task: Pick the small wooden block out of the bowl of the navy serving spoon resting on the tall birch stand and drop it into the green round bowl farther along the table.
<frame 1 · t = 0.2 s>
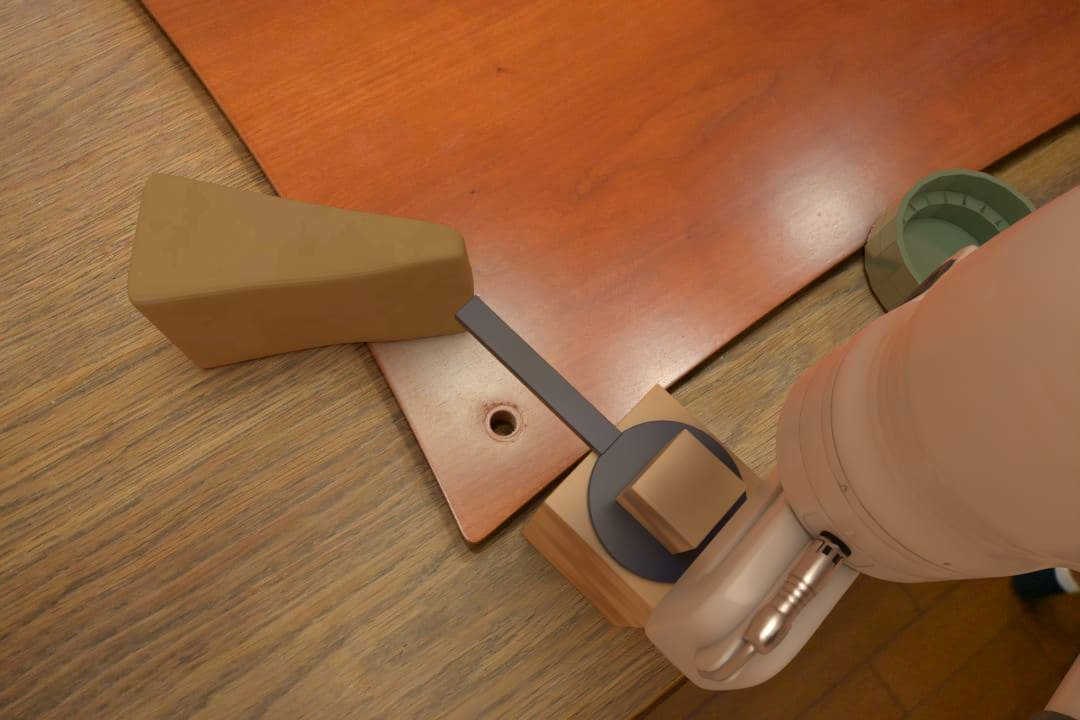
hand: (767, 504, 40), 23 cm above the table, tool pointing down, fingers open, 8 cm apart
green round bowl: (935, 271, 72), on the table
tan wooden wedge: (340, 319, 65), on the table
wooden block: (668, 499, 44), point 19 cm above the table, touching spoon stand
spoon stand: (609, 531, 62), on the table
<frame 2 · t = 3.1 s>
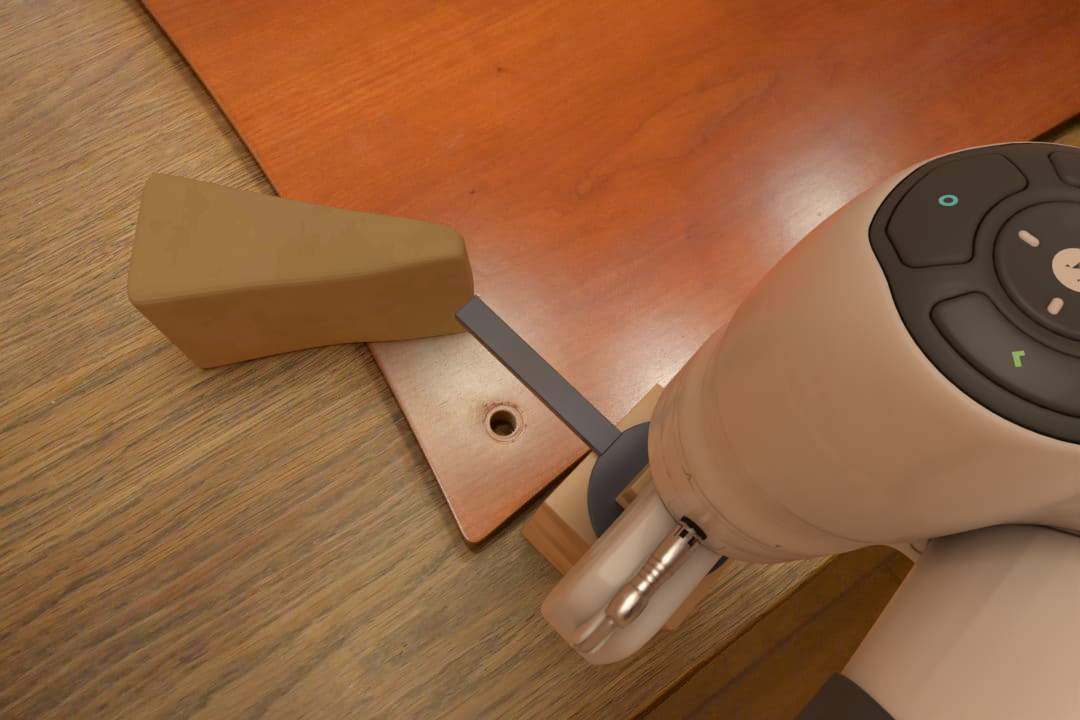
hand: (675, 495, 43), 20 cm above the table, tool pointing down, fingers closed on wooden block, 4 cm apart
wooden block: (668, 499, 44), point 19 cm above the table, touching gripper, spoon stand
everything else where it was.
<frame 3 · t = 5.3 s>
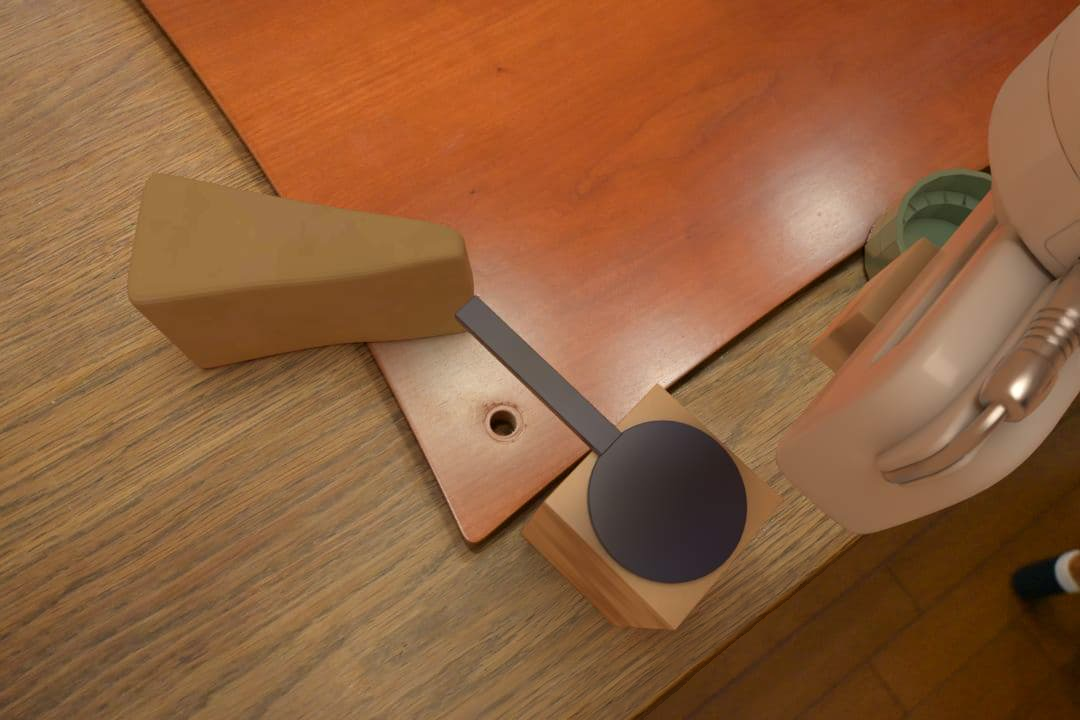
hand: (897, 339, 31), 34 cm above the table, tool pointing down, fingers closed on wooden block, 4 cm apart
wooden block: (878, 350, 33), point 33 cm above the table, touching gripper
everything else where it was.
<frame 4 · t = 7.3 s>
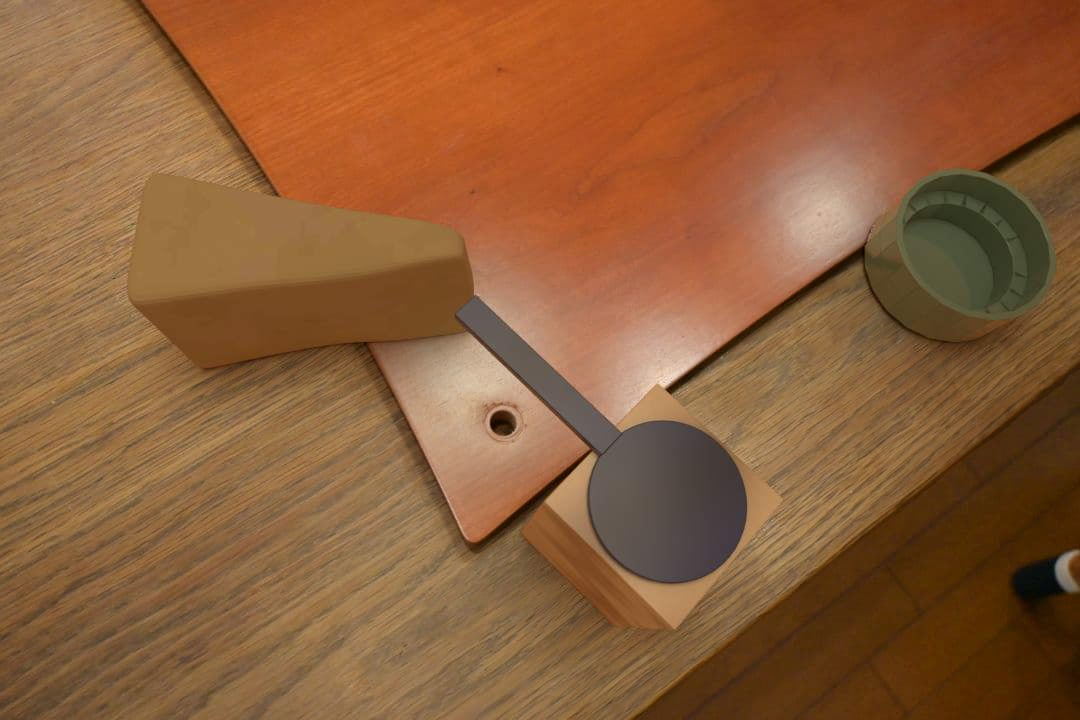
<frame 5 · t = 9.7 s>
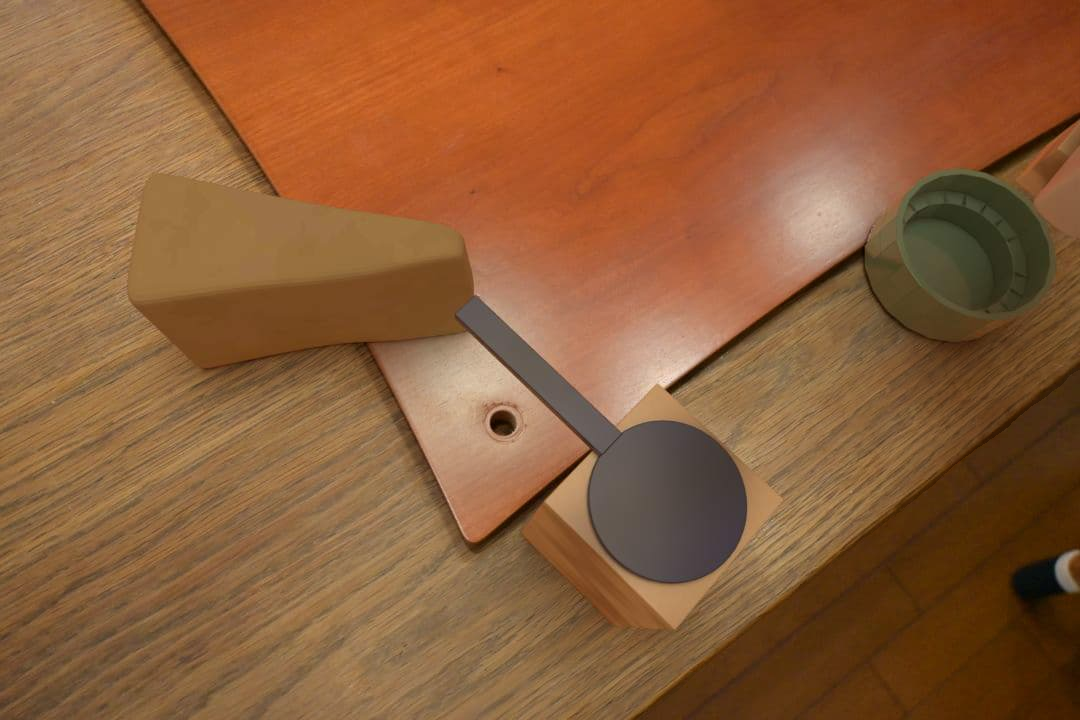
hand: (1068, 174, 56), 17 cm above the table, tool pointing down, fingers closed on wooden block, 4 cm apart
wooden block: (1053, 183, 58), point 15 cm above the table, touching gripper
everything else where it was.
when the fingers open (9 cm above the table, at t = 11.8 s): wooden block drops 7 cm, resting on green round bowl.
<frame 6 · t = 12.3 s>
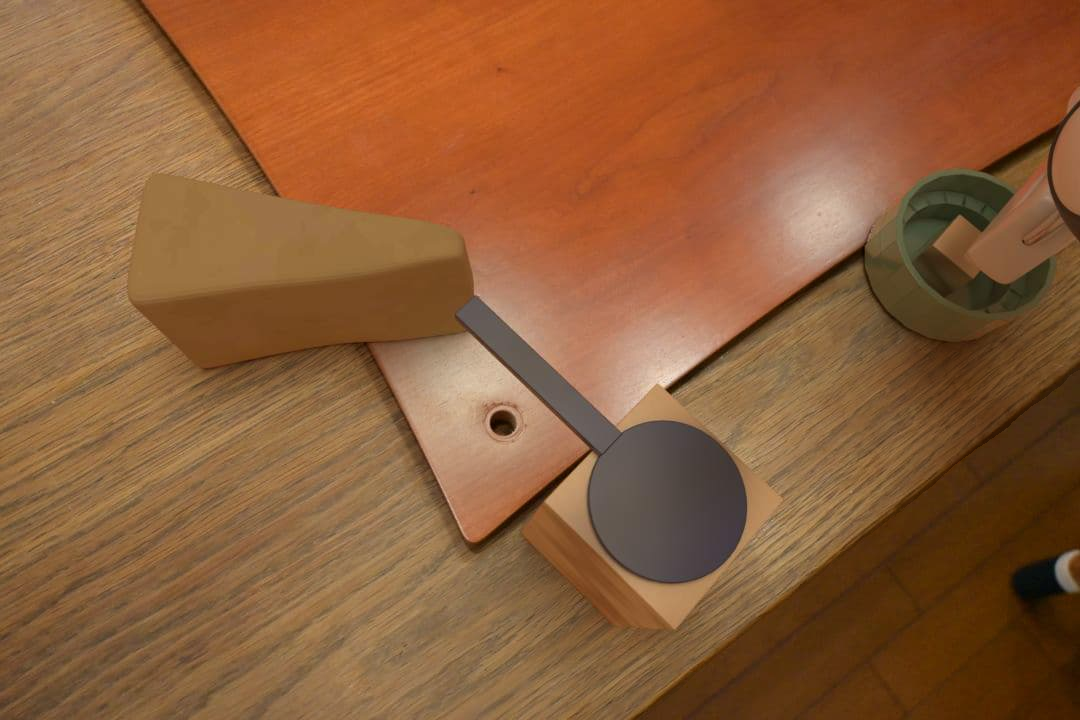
hand: (1006, 221, 63), 10 cm above the table, tool pointing down, fingers open, 8 cm apart
wooden block: (937, 267, 72), resting on green round bowl
everything else where it was.
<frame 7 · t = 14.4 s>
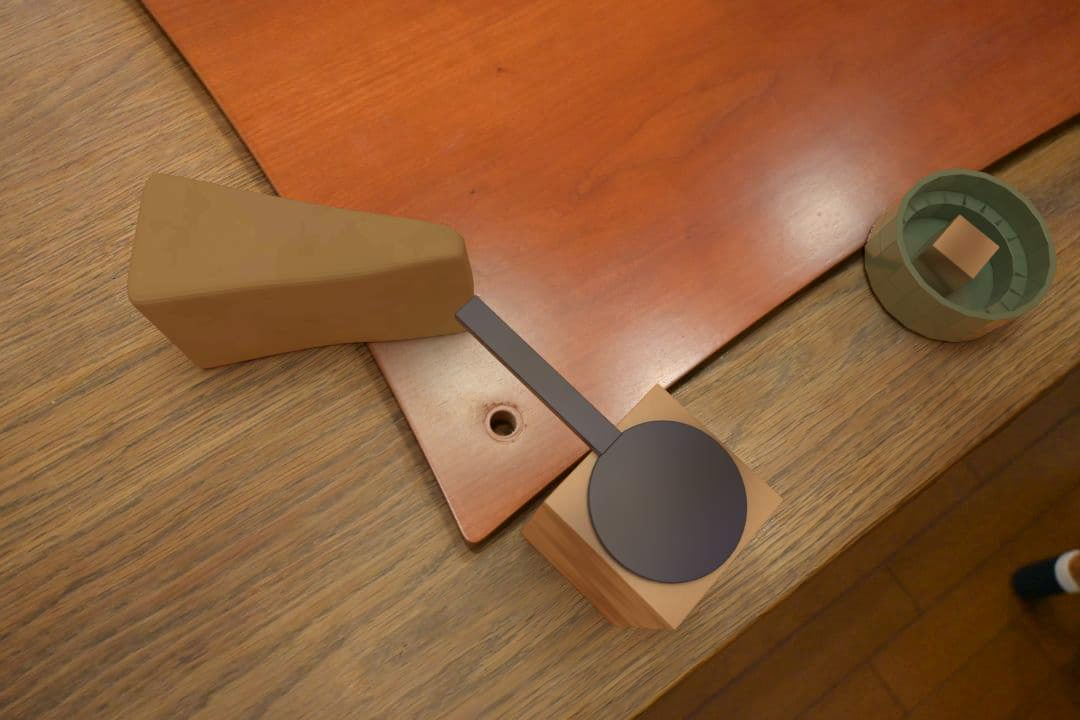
nothing on the table moved.
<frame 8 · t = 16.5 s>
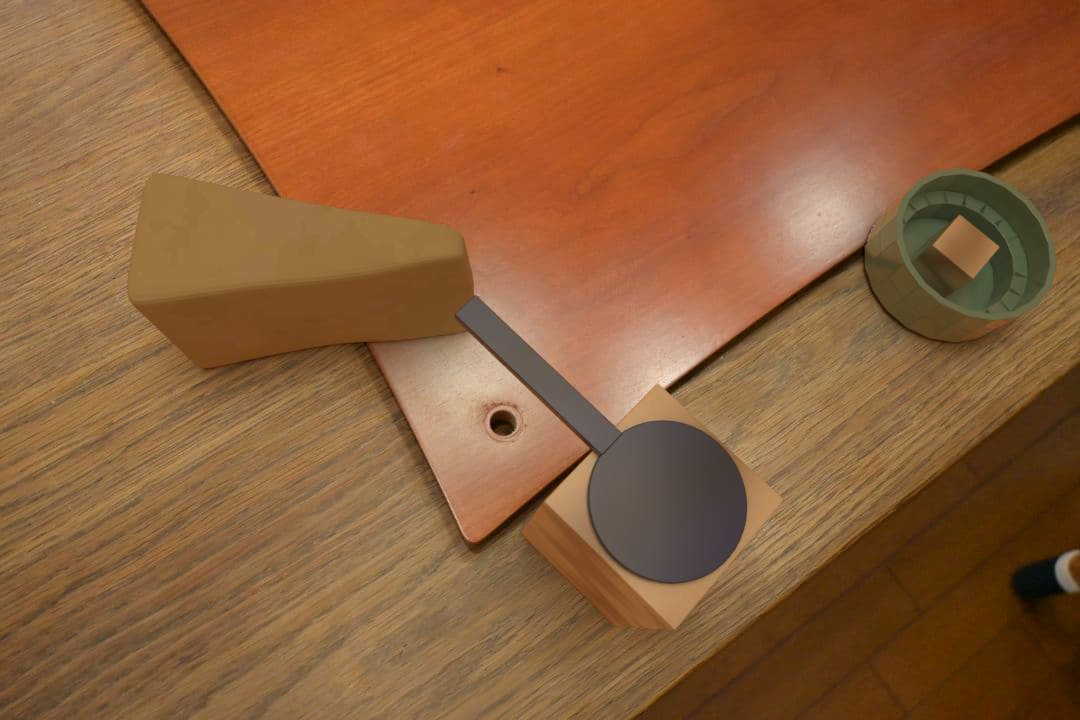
nothing on the table moved.
at the end: wooden block inside the target area in the green round bowl (0.2 cm from its centre), point 0.5 cm above the green round bowl's base; the gripper is holding nothing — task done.
